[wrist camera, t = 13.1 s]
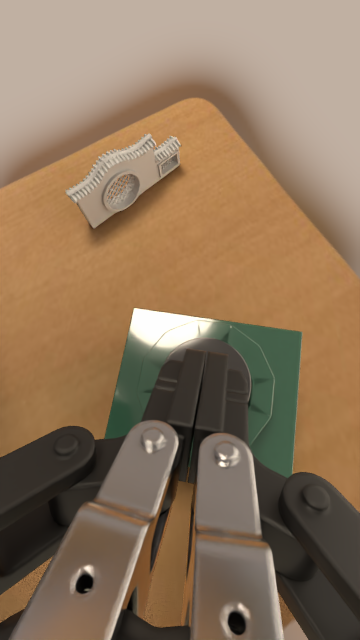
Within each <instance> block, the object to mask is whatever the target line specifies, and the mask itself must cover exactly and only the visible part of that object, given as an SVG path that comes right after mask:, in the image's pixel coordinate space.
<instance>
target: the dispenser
mask: <svg viewBox="0 0 360 640" xmlns="http://www.w3.org/2000/svg"><path fill="white" fill-rule="evenodd" d="M202 337H207V338H214V339H218V340H221V341H224V342H226V343H228V344H229V345H231V346H232V347H233V348H235V349H236V350H237V351H238V352H239V353H240V354H241V356H242V357H243V359H244V360H245V362H246V364H247V366H248V368H249V371H250V376H251V394H250V398H249V401H248V440H249V446H250V449H251V451H252V453H253V454H254V456H255V457H256V458H257V459H258V460H259V461H260V462H261V463H262V464H263V465H265V466H266V467H267V468H269V469H271V470H273V471H275V472H277V473H279V474H281V475H283V476H285V477H287V478H288V477H289V476H291V475H292V473H293V459H294V445H295V431H296V417H297V403H298V388H299V374H300V360H301V346H302V332H299V331H292V330H285V329H278V328H272V327H265V326H258V325H251V324H244V323H237V322H230V321H223V320H216V319H209V318H202V317H195V316H188V315H181V314H175V313H168V312H161V311H154V310H147V309H140V308H134V309H133V314H132V318H131V322H130V327H129V331H128V336H127V340H126V345H125V349H124V353H123V358H122V362H121V367H120V371H119V376H118V380H117V384H116V389H115V393H114V398H113V402H112V407H111V411H110V415H109V420H108V424H107V429H106V433H105V438H104V439H111V438H118V437H121V436H124V435H127V434H128V433H129V431H130V430H131V429H132V428H133V427H134V426H135V425H137V424H138V423H140V422H141V420H142V417H143V414H144V412H145V409H146V406H147V404H148V401H149V398H150V396H151V393H152V390H153V388H154V385H155V383H156V380H157V377H158V375H159V372H160V369H161V367H162V366H163V364H164V362H165V360H166V358H167V357H168V356H169V354H170V353H171V352H172V351H173V350H174V349H175V348H176V347H177V346H179V345H180V344H182V343H184V342H186V341H188V340H191V339H195V338H202ZM193 439H194V437H193ZM192 447H193V443H192ZM191 454H192V448H191ZM191 454H190V460H189V465H188V467H190V462H191Z"/></svg>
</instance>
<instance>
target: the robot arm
mask: <svg viewBox="0 0 360 640" xmlns="http://www.w3.org/2000/svg"><path fill="white" fill-rule="evenodd" d="M206 353H207V351H202V350H195V349H189V348H187V349H186V352H185V356H184V359H183V362H182V361H176V360H169V361H168V362H167V363H166V364H165V365H163V366H162V367H161V369H160V372H159V375H158V377H157V380H156V383H155V385H154V388H153V390H152V393H151V396H150V398H149V401H148V404H147V406H146V409H145V412H144V414H143V417H142V420H141V422H140V423H138V424H137V425H135V426H134V427H133V428H132V429H131V430H130V431H129V433H128V434H127V435H124V436H121V437H118V438H111V439H100V440H95V439H94V437H93V435H92V433H91V432H90V431H88V430H87V429H85V428H83V427H79V426H67V427H63V428H60V429H57V430H55V431H53V432H51V433H49V434H47V435H45V436H43V437H41V438H39V439H37V440H35V441H33V442H31V443H29V444H27V445H25V446H23V447H21V448H19V449H17V450H15V451H13V452H11V453H9V454H7V455H5V456H3V457H1V458H0V595H1V594H2V593H4V592H5V591H6V590H8V589H9V588H11V587H12V586H13V585H15V584H16V583H17V582H19V581H20V580H21V579H23V578H24V577H25V576H27V575H28V574H29V573H31V572H32V571H33V570H35V569H36V568H37V567H39V566H40V565H41V564H43V563H44V562H45V561H47V560H48V559H49V558H51V557H52V556H53V558H52V559H51V561H50V563H49V565H48V567H47V569H46V571H45V572H44V574H43V576H42V578H41V580H40V582H39V584H38V585H37V587H36V589H35V591H34V593H33V595H32V597H31V598H30V600H29V602H28V604H27V606H26V608H25V609H23V610H21V611H19V612H18V613H16V614H14V615H12V616H10V617H9V618H7V619H6V620H4V621H3V622H1V623H0V640H284V636H283V628H282V621H281V614H280V606H279V599H278V592H279V594H280V595H281V597H282V598H283V600H284V602H285V603H286V605H287V606H288V608H289V609H290V611H291V613H292V614H293V616H294V617H295V619H296V621H297V622H298V624H299V625H300V627H301V628H302V630H303V632H304V633H305V635H306V636H307V638H308V639H309V640H360V513H359V512H358V511H357V510H356V509H355V508H354V507H353V506H352V505H351V504H350V503H349V502H348V501H347V500H346V498H345V497H344V496H343V495H342V494H341V493H340V492H339V491H338V490H337V489H336V488H335V487H334V486H333V485H332V484H330V483H329V482H328V481H326V480H325V479H323V478H322V477H320V476H317V475H315V474H312V473H307V472H299V473H295V474H292V475H291V476H289V477H288V478H287V477H285V476H283V475H281V474H279V473H277V472H275V471H273V470H271V469H269V468H267V467H266V466H265V465H263V464H262V463H261V462H260V461H259V460H258V459H257V458H256V457H255V456H254V454H253V453H252V451H251V449H250V446H249V440H248V382H247V380H246V378H245V376H244V375H243V373H242V371H238V370H232V369H227V367H228V355H227V354H221V353H215V352H208V356H207V362H206V368H205V361H206ZM204 368H205V373H204ZM203 375H204V379H203ZM202 383H203V385H202ZM193 437H194V439H193ZM192 443H193V447H192ZM191 448H192V454H191ZM190 454H191V462H190V470H189V477H188V483H193V484H194V488H193V495H192V502H191V509H190V519H189V533H188V546H187V560H186V574H185V587H184V598H183V607H182V617H181V626H175V627H163V628H158V627H154V626H152V625H150V624H149V623H147V622H146V621H144V620H143V618H144V614H145V610H146V605H147V601H148V596H149V590H150V586H151V581H152V577H153V573H154V570H155V566H156V563H157V559H158V556H159V552H160V548H161V545H162V541H163V538H164V534H165V531H166V527H167V523H168V520H169V516H170V513H171V509H172V504H173V501H174V499H175V496H176V491H177V486H178V481H183V482H186V477H187V471H188V465H189V460H190ZM277 590H278V592H277Z"/></svg>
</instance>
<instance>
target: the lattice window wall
mask: <svg viewBox="0 0 360 640" xmlns="http://www.w3.org/2000/svg"><path fill="white" fill-rule="evenodd" d="M154 146H156V143H155V141H154V140H153V139H152V136H151V134H148V135H146V134H144V137H141V140H138V143H137V142H135V145H132V147H131V146H128V147H129V148H126V147H125V150H124V149H123V148H122V150H121V151H120V150H119V149H118V151H117V150H115V149H114V150H113V151H114V152H113V151H112V150H110V153H109V152H106V155H104V154H102V157H100V156H98V158H99V160H98V161H97V160H96V165H94V164H93V165H92V166H93V167H94V168H93V169H92V168H91V170H92V171H91V172H89V176H87V175H86V179H84V178H83V182H81V181H80V182H79V183H80V184H76V186H73V188H71V187H70V188H69V189H70V190H66V192H65V193H66V194H67V195H68V196H69V197H70V199H71V200H72V201H73V202H74V203H77V205H78V207H79V208H80V210H81V212H82V213H83V215H84V216H85V218H86V220H87V221H88V223H89V224H90V225H91V226H92V227H93V228H96V227H97V226H98V225H100V224H101V223H102V222H104V221H105V220H106V219H108V218H109V217H110V216H112V215H113V214H115V213H116V212H119V211H122V210H125V209H126V208H128V207H129V206H131V205H132V204H133V203H134V202H135V200H136V199H137V198H138V196H139V195H140V194H142V193H143V192H144V191H146V190H147V189H148V188H150V187H151V186H152V185H154V184H155V183H156V182H158V181H159V180H160V179H162V178H163V177H164V176H166V175H167V174H168V173H170V172H171V171H173V170H174V169H175V168H177V167H178V166H179V165H180V156H179V147H181V144H180V143H179V142H178V140H177V138H176V137H172V136H170V138H169V139H168V138H167V141H164V144H161V146H158V148H157V147H155V148H156V149H155V150H154V149H153V147H154ZM123 175H124V177H123V178H122V176H123ZM125 176H127V178H126V179H124V178H125ZM128 177H130V178H129V180H127V179H128ZM118 178H119V179H118ZM117 179H118V181H117ZM120 179H122V180H121V182H119V181H120ZM123 180H125V181H124V183H122V182H123ZM126 181H128V183H127V185H126V184H125V183H126ZM113 182H114V183H113ZM116 182H117V183H116ZM115 183H116V185H114V184H115ZM118 183H120V184H119V186H117V185H118ZM121 184H123V185H122V187H120V185H121ZM111 185H112V187H111ZM124 185H125V186H126V187H125V188H123V186H124ZM113 186H115V187H114V189H112V188H113ZM110 187H111V189H110ZM116 187H118V188H117V189H116V190H115V188H116ZM119 188H120V191H119V192H118V189H119ZM122 189H123V192H122V193H121V190H122ZM108 190H109V192H108ZM111 191H112V192H111ZM110 192H111V194H110ZM113 192H115V193H114V195H112V194H113ZM116 193H118V194H117V196H115V195H116ZM119 194H120V195H119ZM109 195H110V196H109ZM108 196H109V198H108V199H107V197H108ZM111 196H113V197H112V199H110V197H111ZM114 197H115V198H114Z"/></svg>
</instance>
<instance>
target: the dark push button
mask: <svg viewBox="0 0 360 640" xmlns="http://www.w3.org/2000/svg"><path fill="white" fill-rule="evenodd" d="M187 348H189V349H195V350H202V351H207V353H206V361H205V368H206V362H207V356H208V352H215V353H221V354H227V355H228V367H227V369H232V370H238V371H242V373H243V375H244V376H245V378H246V380H247V382H248V401H249V398H250V394H251V376H250V371H249V368H248V366H247V364H246V362H245V360H244V359H243V357H242V356H241V354H240V353H239V352H238V351H237V350H236V349H235V348H233V347H232V346H231V345H229V344H228V343H226V342H224V341H221V340H218V339H214V338H207V337H202V338H195V339H191V340H188V341H186V342H184V343H182V344H180V345H179V346H177V347H176V348H175V349H174V350H173V351H172V352H171V353H170V354H169V356H168V357H167V358H166V360H165V362H164V364H163V365H165V364H166V363H167V362H168V361H169V360H176V361H182V362H183V359H184V356H185V352H186V349H187ZM205 368H204V373H205ZM203 379H204V375H203ZM202 385H203V383H202Z"/></svg>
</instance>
